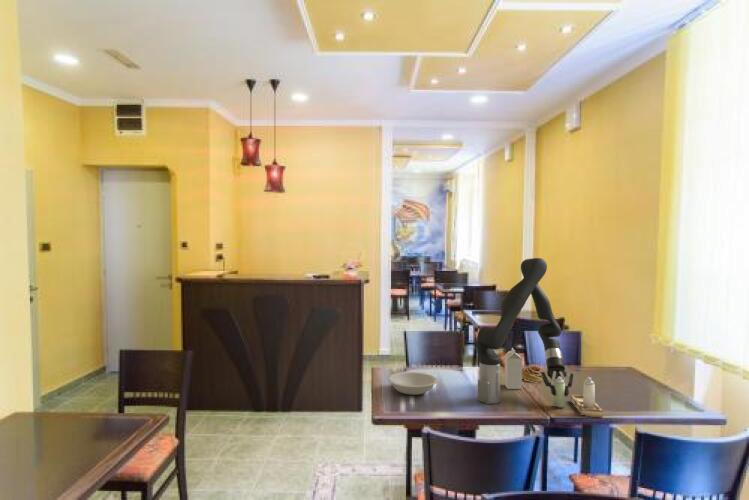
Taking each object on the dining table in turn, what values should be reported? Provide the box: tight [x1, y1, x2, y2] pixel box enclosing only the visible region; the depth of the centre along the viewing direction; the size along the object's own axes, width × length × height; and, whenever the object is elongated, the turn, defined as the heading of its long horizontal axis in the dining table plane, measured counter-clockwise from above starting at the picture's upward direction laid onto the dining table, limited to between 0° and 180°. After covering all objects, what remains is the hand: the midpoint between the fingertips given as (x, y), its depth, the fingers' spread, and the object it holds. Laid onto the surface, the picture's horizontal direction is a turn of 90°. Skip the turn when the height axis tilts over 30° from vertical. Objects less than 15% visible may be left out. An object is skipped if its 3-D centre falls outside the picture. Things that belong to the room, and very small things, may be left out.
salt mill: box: [582, 376, 596, 409], centre depth 190 cm, size 4×4×13 cm
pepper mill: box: [553, 376, 566, 408], centre depth 197 cm, size 4×4×13 cm
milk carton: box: [504, 347, 523, 390], centre depth 224 cm, size 7×7×19 cm
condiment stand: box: [569, 394, 604, 418], centre depth 194 cm, size 18×8×3 cm, turn 171°
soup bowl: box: [387, 371, 439, 396], centre depth 215 cm, size 24×24×7 cm
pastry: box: [522, 364, 544, 383], centre depth 238 cm, size 13×15×8 cm
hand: (560, 395), depth 195 cm, fingers closed on pepper mill, 4 cm apart
